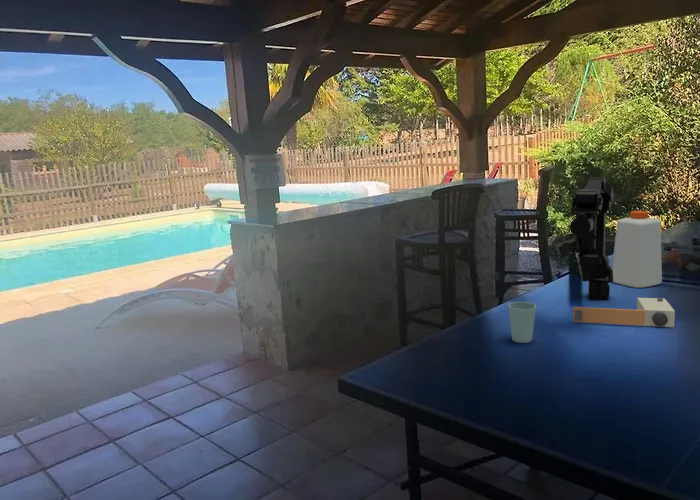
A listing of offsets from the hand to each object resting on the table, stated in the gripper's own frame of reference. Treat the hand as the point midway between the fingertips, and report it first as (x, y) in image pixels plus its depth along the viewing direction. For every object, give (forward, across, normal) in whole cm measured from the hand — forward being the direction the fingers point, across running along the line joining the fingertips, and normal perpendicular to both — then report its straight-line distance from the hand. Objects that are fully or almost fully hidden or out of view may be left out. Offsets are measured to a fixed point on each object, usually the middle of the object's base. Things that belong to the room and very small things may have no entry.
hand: (584, 281), depth 178 cm
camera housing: (+13, -3, +22) cm, 25 cm away
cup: (+13, +20, -20) cm, 31 cm away
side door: (+13, +3, +7) cm, 15 cm away
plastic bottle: (+13, -51, +28) cm, 59 cm away
